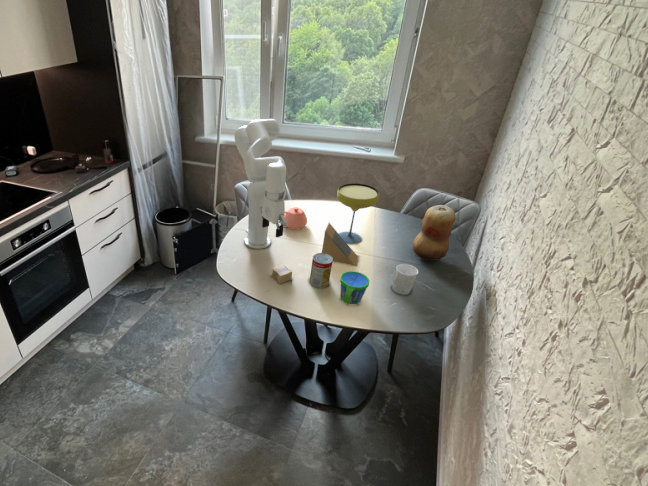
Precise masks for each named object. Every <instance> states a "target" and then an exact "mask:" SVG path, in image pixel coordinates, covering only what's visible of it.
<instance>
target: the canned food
mask: <svg viewBox="0 0 648 486" xmlns="http://www.w3.org/2000/svg"><path fill="white" fill-rule="evenodd" d="M310 267H311V268H310V275H309V284H311V285H312V286H313V287H316V288H326V287H328V286H329V284H330V280H331V274H332V268H333V258H332V257H331V256H330V255H328V254H325V253H322V252H318V253H315V254H314V255H313V256H312V261H311V266H310Z"/></svg>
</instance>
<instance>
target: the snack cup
mask: <svg viewBox="0 0 648 486" xmlns="http://www.w3.org/2000/svg"><path fill="white" fill-rule="evenodd" d="M339 283H340V300H341V301H342V302H343V303H344V304H346V305H358V304H359V303H361V301H362V299H363V297H364V295H365V293H366V291H367V289H368V287H369V286H370V279H369V277H368V276H367V275H365V274H364V273H362V272H359V271H354V270H348V271H345V272H343V273H341V275H340V277H339Z"/></svg>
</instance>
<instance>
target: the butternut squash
mask: <svg viewBox="0 0 648 486" xmlns="http://www.w3.org/2000/svg"><path fill="white" fill-rule="evenodd" d="M456 219H457V216H456V212H455V210H454V209H453V208H452V207H449V206H448V205H444V204H438V205H437V204H436V205H433V206H431V207H428V209H427V210H426V212H425V213H424V216H423V219H422V221H421V229H420V232H419V233H418V234H417V235H416V237H415V238H414V239H413V241H412V249H413V253H414V254H415V255H416V256H417V257H419V258H421V259H422V260H425V261H438V260H442V259H443V258H445V257H446V256H447V253H448V252H449V249H450V236H451V235H452V230H453V226H454V223H455V222H456Z"/></svg>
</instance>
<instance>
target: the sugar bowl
mask: <svg viewBox="0 0 648 486" xmlns="http://www.w3.org/2000/svg"><path fill="white" fill-rule="evenodd" d="M284 218H285V219H286V221H287V225H286V227H285V228H288V229H289V230H301V229H303V228H304V227H306V226H307V224H308V217H307V215H306V213H305V211H304V210H303V209H302V208H299V207H297V206H296V207H291V208H289V209H288V210H286V211H285V214H284Z"/></svg>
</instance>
